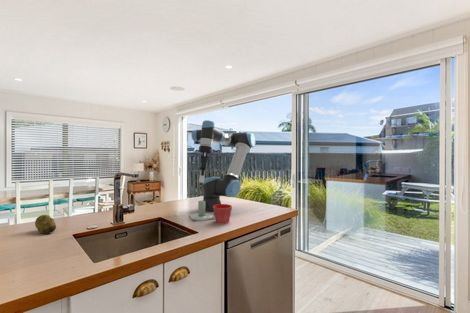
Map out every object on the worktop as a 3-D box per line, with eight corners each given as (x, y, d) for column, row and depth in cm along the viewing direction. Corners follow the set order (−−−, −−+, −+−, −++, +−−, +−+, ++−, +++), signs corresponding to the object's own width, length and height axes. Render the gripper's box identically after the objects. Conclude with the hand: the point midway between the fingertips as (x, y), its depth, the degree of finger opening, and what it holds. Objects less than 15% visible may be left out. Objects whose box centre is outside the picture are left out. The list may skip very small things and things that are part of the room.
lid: (188, 215, 160) (188, 199, 159) (209, 213, 165) (209, 198, 165) (193, 221, 147) (193, 204, 146) (215, 219, 152) (216, 202, 151)
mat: (188, 216, 160) (188, 215, 160) (209, 214, 165) (209, 213, 165) (193, 222, 147) (193, 221, 147) (215, 220, 152) (215, 219, 152)
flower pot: (229, 225, 141) (229, 208, 141) (210, 224, 143) (210, 207, 143) (233, 220, 151) (233, 204, 151) (215, 219, 153) (216, 203, 153)
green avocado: (35, 237, 120) (35, 220, 120) (34, 230, 130) (34, 214, 130) (56, 233, 126) (56, 217, 125) (54, 227, 136) (54, 212, 135)
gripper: (199, 149, 161) (194, 182, 157) (199, 141, 136) (194, 180, 133) (210, 150, 162) (206, 183, 158) (213, 143, 137) (208, 182, 134)
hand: (201, 182), depth 146 cm, fingers open, 13 cm apart
